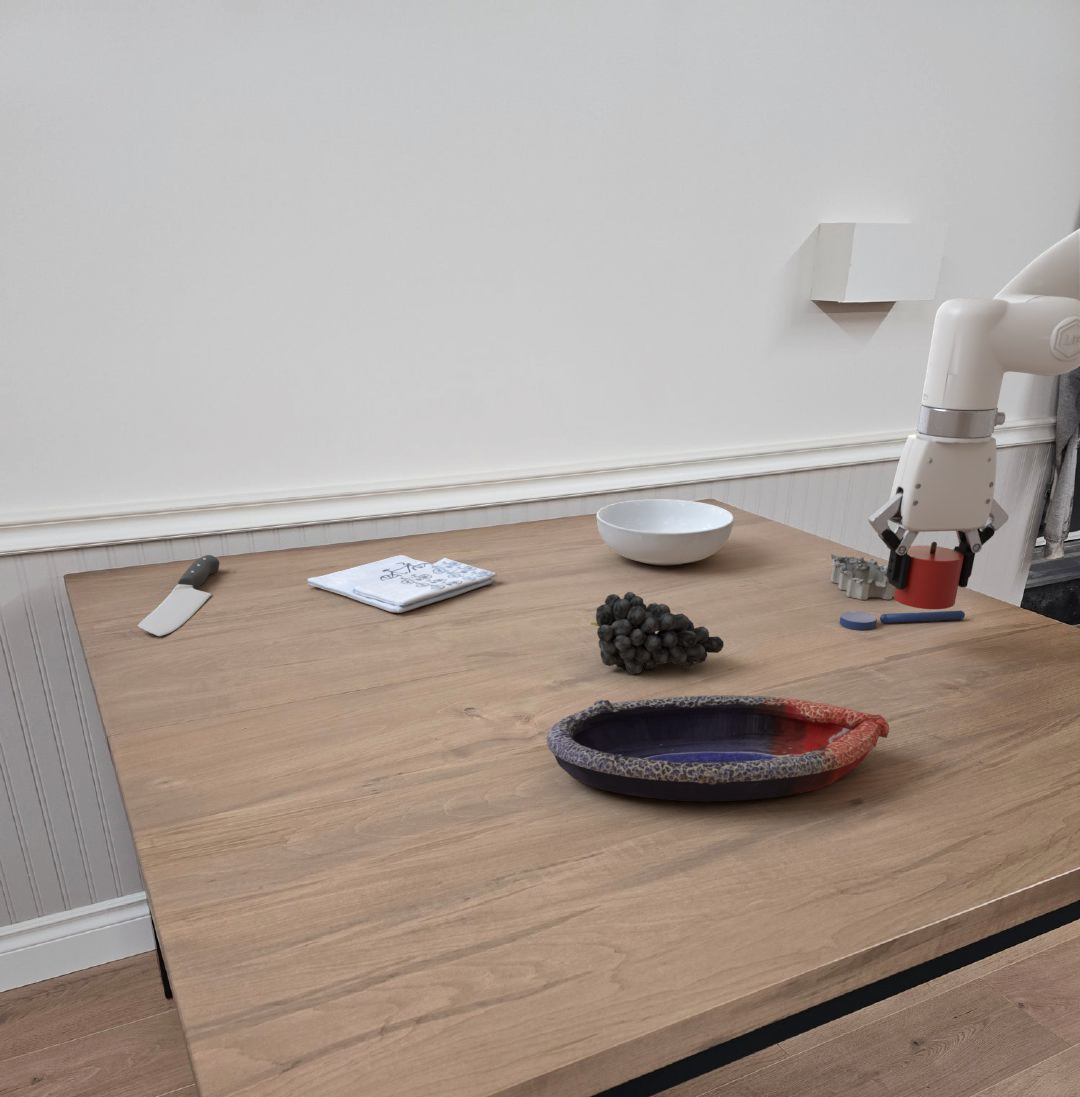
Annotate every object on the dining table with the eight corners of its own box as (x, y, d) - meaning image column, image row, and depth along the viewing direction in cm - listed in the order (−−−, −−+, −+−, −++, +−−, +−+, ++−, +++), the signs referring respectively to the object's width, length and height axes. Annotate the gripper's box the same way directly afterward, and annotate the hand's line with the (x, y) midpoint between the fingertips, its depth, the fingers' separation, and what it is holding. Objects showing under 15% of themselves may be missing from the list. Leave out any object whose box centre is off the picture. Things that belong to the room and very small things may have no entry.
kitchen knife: (174, 630, 119) (133, 620, 118) (172, 649, 120) (131, 639, 119) (235, 559, 145) (201, 550, 144) (233, 575, 146) (199, 566, 145)
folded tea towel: (400, 617, 125) (398, 601, 125) (304, 587, 137) (303, 572, 137) (499, 583, 139) (499, 569, 138) (404, 558, 150) (403, 545, 150)
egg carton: (901, 601, 131) (906, 571, 129) (845, 601, 131) (850, 571, 129) (877, 577, 140) (881, 549, 138) (825, 577, 140) (829, 549, 138)
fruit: (727, 583, 108) (592, 579, 108) (734, 630, 102) (591, 625, 102) (717, 643, 114) (589, 639, 114) (723, 691, 108) (588, 686, 108)
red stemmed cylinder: (937, 590, 115) (947, 533, 112) (965, 608, 109) (977, 548, 106) (884, 592, 114) (893, 535, 112) (910, 610, 109) (920, 550, 106)
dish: (542, 737, 93) (542, 689, 91) (856, 730, 94) (863, 683, 92) (550, 820, 79) (550, 767, 77) (918, 811, 80) (929, 758, 78)
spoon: (954, 613, 125) (956, 605, 125) (972, 625, 122) (974, 616, 121) (834, 619, 124) (835, 610, 123) (847, 630, 120) (849, 621, 119)
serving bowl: (576, 569, 145) (576, 523, 142) (619, 535, 162) (621, 494, 159) (713, 583, 138) (716, 536, 135) (743, 547, 155) (746, 504, 152)
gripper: (1012, 417, 108) (981, 573, 115) (863, 420, 106) (841, 578, 114) (1052, 428, 101) (1016, 592, 109) (893, 431, 99) (868, 597, 107)
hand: (927, 583), depth 111 cm, fingers closed on red stemmed cylinder, 6 cm apart
